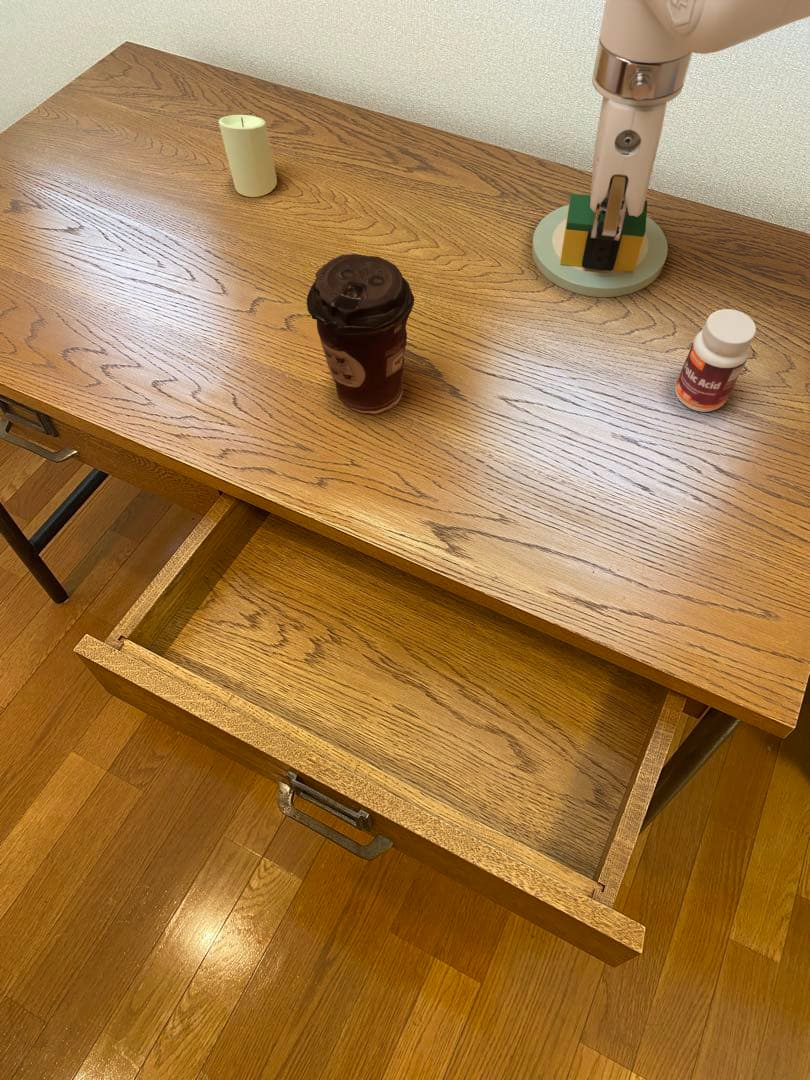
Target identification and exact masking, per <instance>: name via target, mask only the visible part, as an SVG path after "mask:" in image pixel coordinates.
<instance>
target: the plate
mask: <svg viewBox="0 0 810 1080" xmlns="http://www.w3.org/2000/svg"><path fill="white" fill-rule="evenodd" d="M568 209H569V204H565V205H563V206H561V207H558V208H556V209H554V210H552V211H550V212H549V213H548V214H547V215H545V216H544V217H543V218H542V219H541V220H540V222H539V223H538V224H537V226H536V227H535V230H534V232H533V235H532V241H531V242H532V243H531V255H532V259H533V262H534V264H535V266H536V268H537V269H538V270H539V272H540V273H541V274H542V275H543V276H544V277H545V278H546V279H547V280H549V281H550V282H551V283H553V284H554V285H556V286H557V287H559V288H562V289H564V290H566V291H567V292H568V291H569V292H571V293H574V294H577V295H580V296H581V295H582V296H586V297H594V298H615V297H622V296H626V295H627V296H628V295H631V294H633V293H636V292H638V291H641V290H643V289H645V288H646V287H648V286H649V285H651V284H652V283H653V282H654V281H656V279H657V278H658V277H659V276H660V275H661V274H662V271H663V269H664V267H665V263H666V260H667V257H668V252H669V246H668V241H667V237H666V235H665V233H664V231H663V230H662V228H661V227H660V226H659V225H658V224H657V222H656V221H654V220H653V219H652V218H651V217H649V216H648V215H647V216H646V231H645V234H644V238H643V242H642V245H641V249H640V252H639V256H638V259H637V263H636V267H635V270H634V272H628V271H618V270H611V271H607V270H597V269H587V268H583V267H579V266H569V265H561V264H560V260H561V253H562V246H563V239H564V233H565V227H566V221H567V215H568Z"/></svg>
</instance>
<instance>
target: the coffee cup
mask: <svg viewBox="0 0 810 1080" xmlns="http://www.w3.org/2000/svg"><path fill="white" fill-rule="evenodd" d="M314 277H315V279H314V282H313V283H312V285H311V286H310V289H309V291H308V293H307V297H306V308H307V309H306V310H307V312H308V314H309V315H310V317H311V318H312V320H316V331H317V334H318V336H319V339H320V344H321V347H322V350H323V354H324V358H325V360H326V364H327V367H328V370H329V373H330V375H331V377H332V379H333V382H334V383H335V389H336V390H335V391H336V394H337V397H338V399H339V401H340V402H341V403H342V404H343V405H345V406H346V407H348V408H349V409H351V410H353V411H355V412H359V413H362V414H375V415H378V414H381V413H383V412H384V411H387V410H390V409H392V408H393V407H394V406H395V405H398V403H399V402H400V400H401V399H402V397H403V379H402V377H403V373H404V365H405V355H404V352H405V350H406V348H407V340H408V332H407V322H408V320H409V316H410V314H411V313H412V311H413V308H414V305H415V297H414V296H415V295H414V294H413V292H412V289H411V286H410V283H409V282H408V281H407V280H406V278H405V277H404V276H403V274H402V272H401V270H400V269H399V268H398V267H397V265H395V264H394V263H392V262H390V261H389V260H387V259H384V258H382V257H379V256H377V255H376V256H374V255H364V254H358V253H357V254H356V253H350V254H349V253H347V254H341V255H339V256H337V257H333V258H332V259H330V260H329V261H328V262H327V263H325V264H323V265H322V266H321V267H320V268H319V269H318V270H317V271H316V273H315V276H314Z"/></svg>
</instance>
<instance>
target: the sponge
mask: <svg viewBox="0 0 810 1080" xmlns="http://www.w3.org/2000/svg"><path fill="white" fill-rule="evenodd" d="M590 199H591V194H582V193H581V194H579V193H571V194H570V199H569V204H568V205H569V209H568V215H567V221H566V227H565V233H564V239H563V246H562V253H561V260H560V264H561V265H569V266H579V267H582V260H583V255H584V250H585V245H586V241H587V236H588V231H591V230H592V225H593V220H594V215H595V213H594V212H593V211H592V209H591V208H590ZM602 202H606V203H607V202H608V199H604V200H603V201H602ZM622 204H623V201H622ZM647 212H648V200H647V199H645V203H644V208H643V212H642V214H641V215H639V216H638V217H635V216H629V213H628V209H627V208H626V213H625V217H624V222H623V226H622V231H621V234H622V238H621V242H620V246H619V250H618V254H617V258H616V262H615V266H614V269H613V270H618V271H628V272H634V270H635V267H636V263H637V259H638V256H639V252H640V249H641V245H642V242H643V238H644V234H645V231H646V216H648V215H647ZM604 218H605V213H601V216H600V221H599V223H600V222H604Z"/></svg>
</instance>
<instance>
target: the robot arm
mask: <svg viewBox="0 0 810 1080" xmlns="http://www.w3.org/2000/svg"><path fill="white" fill-rule="evenodd" d="M809 17H810V0H605V3H604V8H603V15H602V20H601V26H600V30H599V37H598V44H597V49H596V54H595V60H594V66H593V71H592V76H591V82H592V86H593V88H594V89H595V91H596V92H597V93H598V94H599V95H601V96H602V100H601V101H602V102H601V106H600V113H599V117H598V119H599V120H598V124H597V130H596V135H595V142H594V150H593V160H592V170H591V171H592V172H591V183H590V184H591V185H590V195H591V199H590V208H591V209H592V211H593V212H594V213H595V215H594V220H593V225H592V230H591V231H588V236H587V241H586V245H585V250H584V255H583V260H582V267H583V268H587V269H597V270H607V271H611V270H613V269H614V266H615V262H616V258H617V254H618V250H619V246H620V242H621V238H622V234H621V231H622V226H623V222H624V217H625V213H626V208H627V209H628V213H629V216H635V217H638V216H639V215H641V214H642V212H643V208H644V203H645V200H647V199H646V198H647V195H648V190H649V186H650V182H651V177H652V173H653V169H654V165H655V161H656V156H657V152H658V148H659V144H660V141H661V140H660V139H661V135H662V132H663V131H662V130H663V126H664V122H665V117H666V116H665V115H666V111H667V105H668V103H669V102H671V101H673V100H675V99H676V98H677V97H678V96H679V95H680V94H681V92H682V91H683V88H684V85H685V82H686V81H685V80H686V78H687V73H688V70H689V66H690V63H691V59H692V56H693V53H694V54H700V55H707V54H713V53H718V52H720V51H723V50H726V49H730V48H731V47H735V46H737V45H740V44H742V43H745V42H747V41H750V40H752V39H755V38H758V37H760V36H762V35H764V34H766V33H768V32H771V31H773V30H777V29H779V28H782V27H784V26H787V25H789V24H792V23H795V22H797V21H801V20H803V19H807V18H809ZM604 199H608V202H607V203H606V202H602V201H603V200H604ZM622 201H623V204H622ZM601 213H605V218H604V222H600V223H599V221H600V216H601Z"/></svg>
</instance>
